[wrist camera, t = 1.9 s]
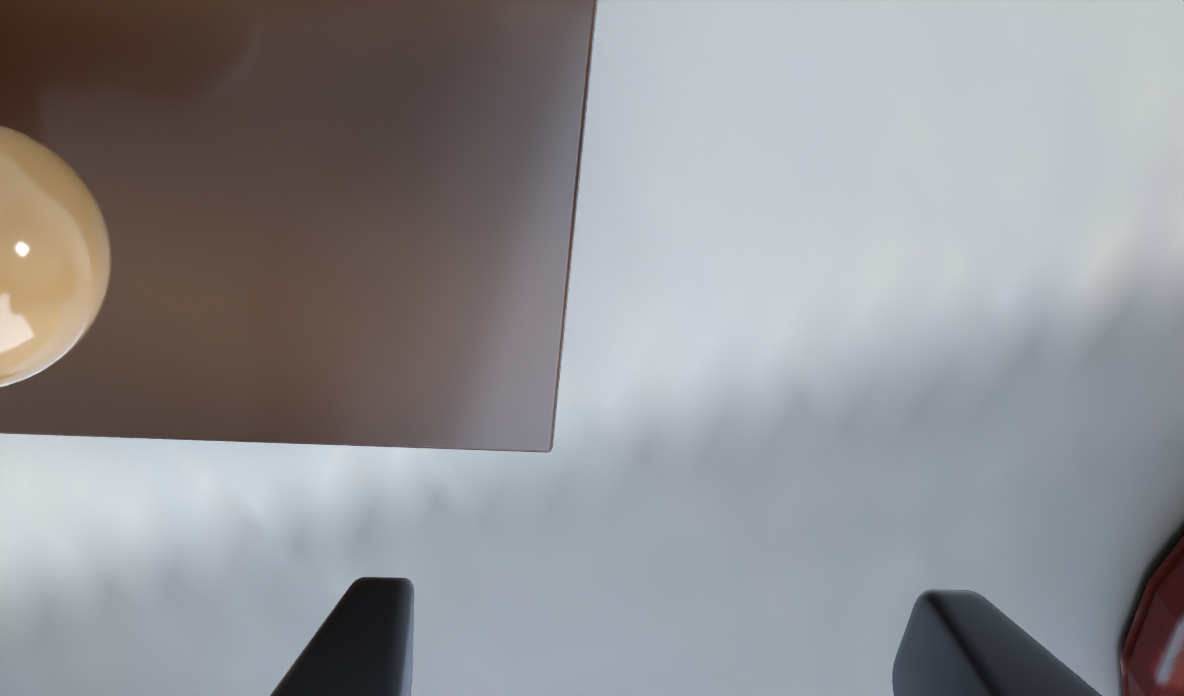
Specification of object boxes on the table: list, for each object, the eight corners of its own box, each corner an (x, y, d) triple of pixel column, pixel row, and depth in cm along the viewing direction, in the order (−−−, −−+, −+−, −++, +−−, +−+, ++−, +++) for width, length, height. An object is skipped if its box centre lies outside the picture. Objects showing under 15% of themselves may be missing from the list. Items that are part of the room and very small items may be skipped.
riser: (547, 389, 22) (552, 454, 20) (18, 367, 20) (-27, 434, 19) (614, -315, 15) (628, -312, 13) (-146, -403, 14) (-238, -413, 12)
